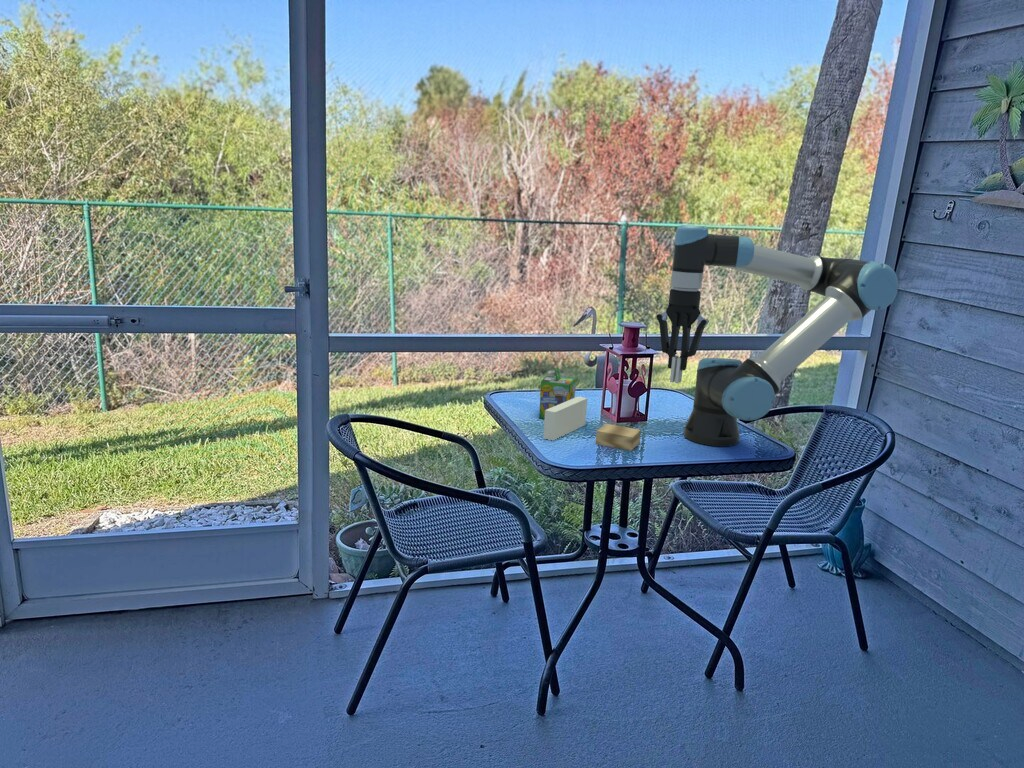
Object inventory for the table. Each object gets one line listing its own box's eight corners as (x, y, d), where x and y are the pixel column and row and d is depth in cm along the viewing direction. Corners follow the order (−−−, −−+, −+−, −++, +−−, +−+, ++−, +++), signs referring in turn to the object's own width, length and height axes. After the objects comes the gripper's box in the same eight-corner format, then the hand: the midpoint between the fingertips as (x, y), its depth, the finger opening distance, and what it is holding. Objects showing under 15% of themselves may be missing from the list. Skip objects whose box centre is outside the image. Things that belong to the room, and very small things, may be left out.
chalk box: (568, 422, 215) (572, 373, 212) (538, 418, 218) (541, 370, 214) (574, 414, 224) (578, 367, 221) (545, 411, 226) (548, 364, 223)
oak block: (639, 443, 200) (641, 429, 199) (631, 451, 193) (632, 437, 192) (604, 437, 204) (605, 423, 203) (595, 445, 197) (596, 430, 196)
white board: (585, 424, 214) (587, 398, 212) (552, 441, 197) (555, 412, 195) (576, 422, 216) (578, 396, 214) (543, 438, 199) (545, 410, 197)
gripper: (717, 290, 181) (706, 383, 187) (664, 285, 188) (655, 375, 194) (708, 292, 175) (697, 389, 181) (653, 287, 182) (644, 380, 187)
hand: (675, 381), depth 187 cm, fingers closed
